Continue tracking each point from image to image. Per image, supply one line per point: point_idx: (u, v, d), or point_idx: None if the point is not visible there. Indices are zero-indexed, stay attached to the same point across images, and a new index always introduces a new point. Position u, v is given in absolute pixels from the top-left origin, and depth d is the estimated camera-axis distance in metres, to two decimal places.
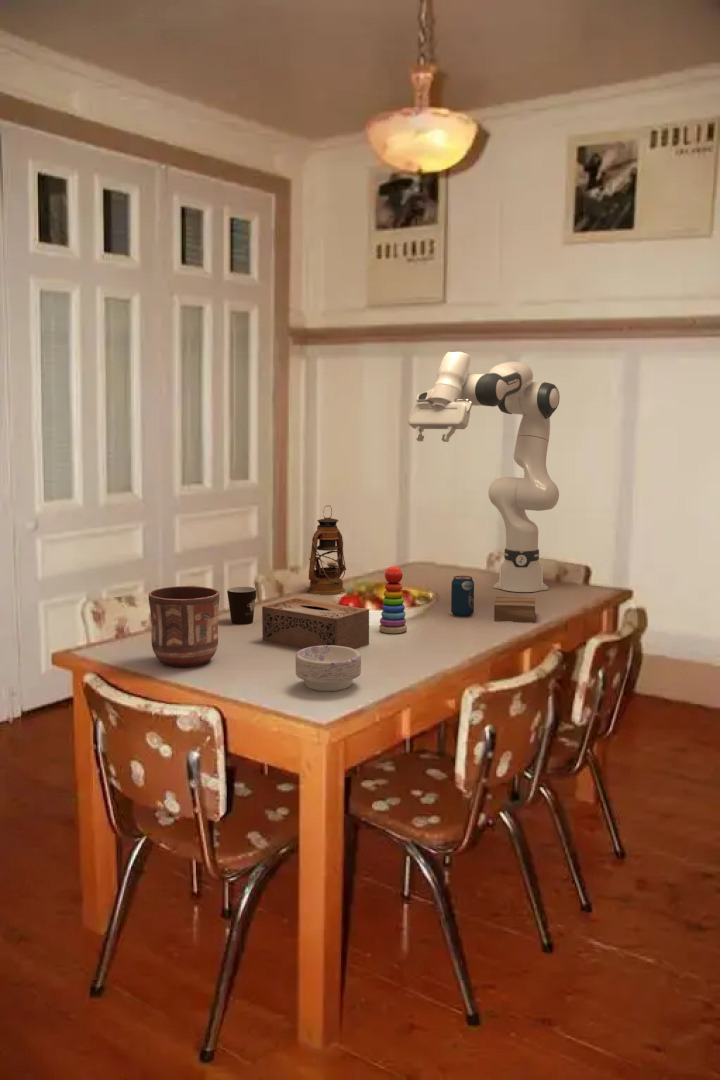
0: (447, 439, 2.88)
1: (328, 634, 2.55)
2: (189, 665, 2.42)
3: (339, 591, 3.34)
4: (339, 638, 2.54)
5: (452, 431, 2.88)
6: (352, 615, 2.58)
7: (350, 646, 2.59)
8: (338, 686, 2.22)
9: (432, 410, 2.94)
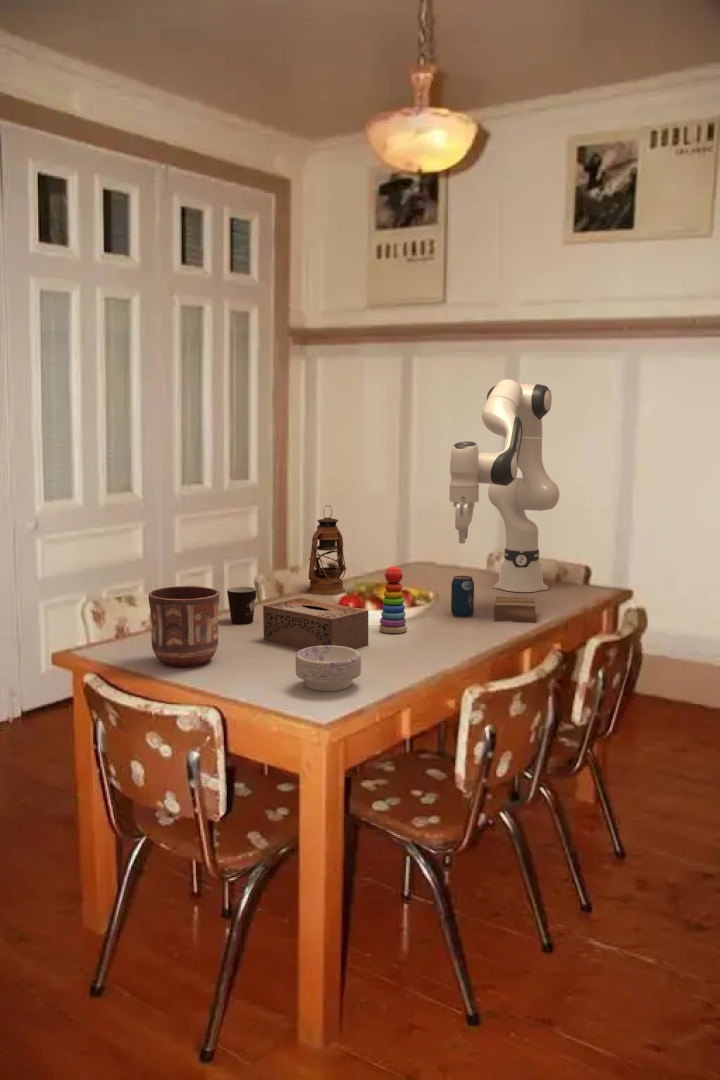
0: (462, 541, 2.92)
1: (324, 634, 2.55)
2: (189, 665, 2.42)
3: (339, 591, 3.34)
4: (335, 638, 2.54)
5: (462, 533, 2.91)
6: (349, 616, 2.57)
7: None
8: (338, 686, 2.22)
9: None
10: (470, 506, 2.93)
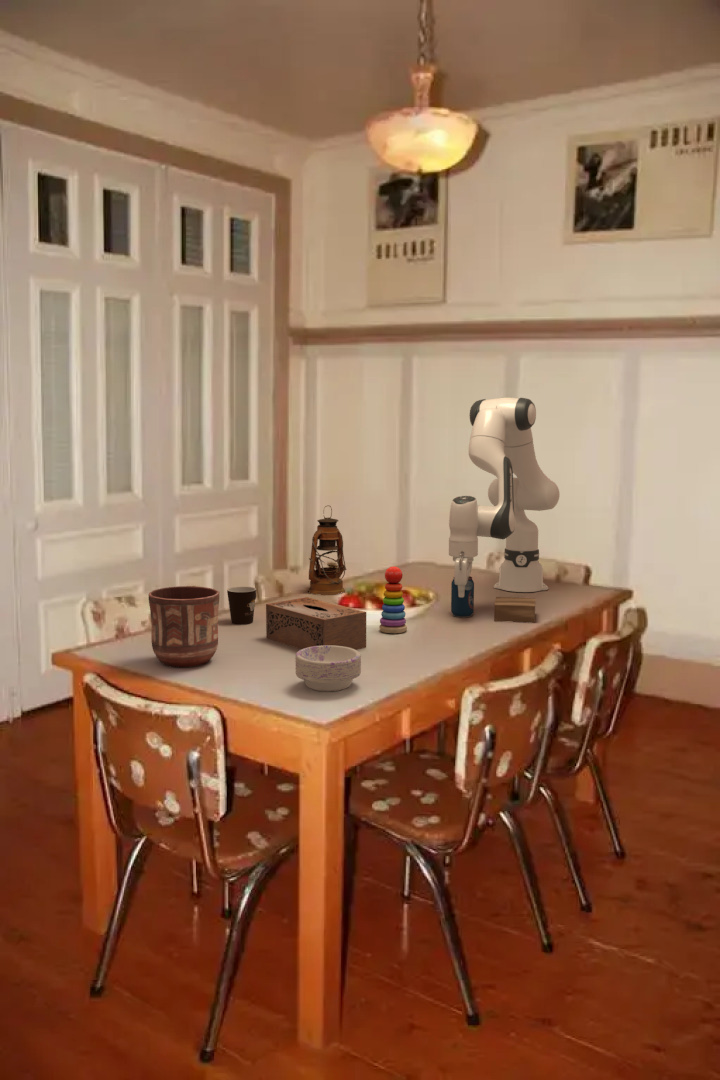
0: (461, 595, 2.95)
1: (317, 634, 2.54)
2: (189, 665, 2.42)
3: (339, 591, 3.34)
4: (327, 639, 2.53)
5: (461, 587, 2.94)
6: (344, 617, 2.56)
7: None
8: (338, 686, 2.22)
9: None
10: (469, 560, 2.96)
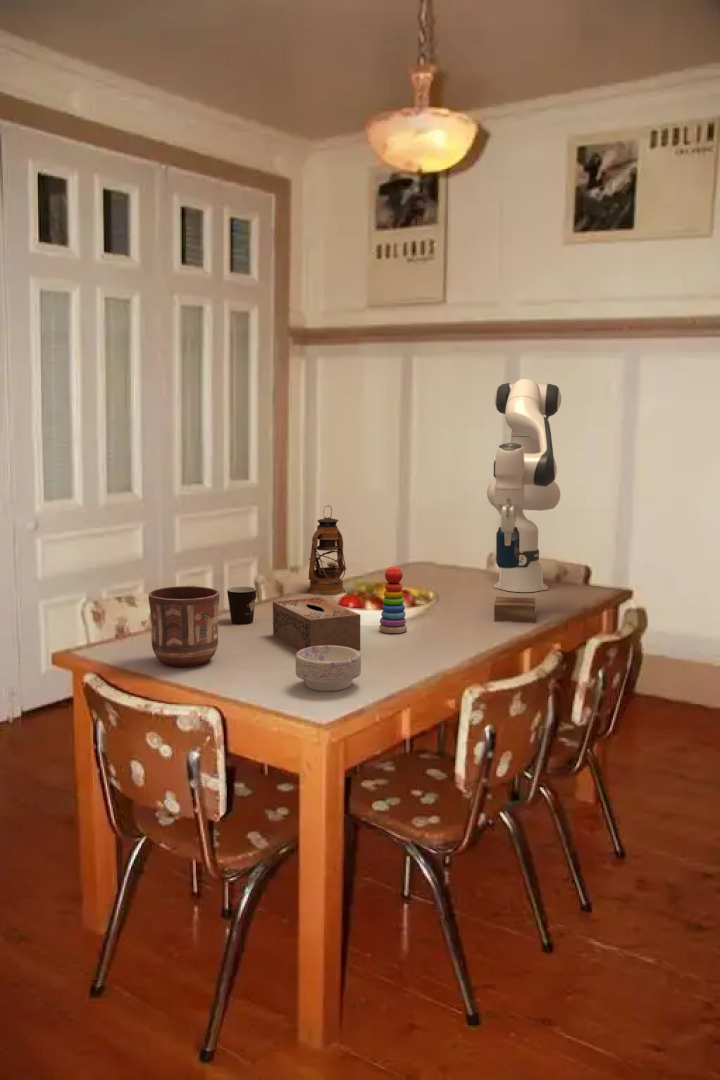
0: (507, 543, 2.91)
1: (306, 634, 2.54)
2: (189, 665, 2.42)
3: (339, 591, 3.34)
4: (314, 640, 2.53)
5: (508, 535, 2.89)
6: (334, 618, 2.54)
7: None
8: (338, 686, 2.22)
9: None
10: (515, 508, 2.91)
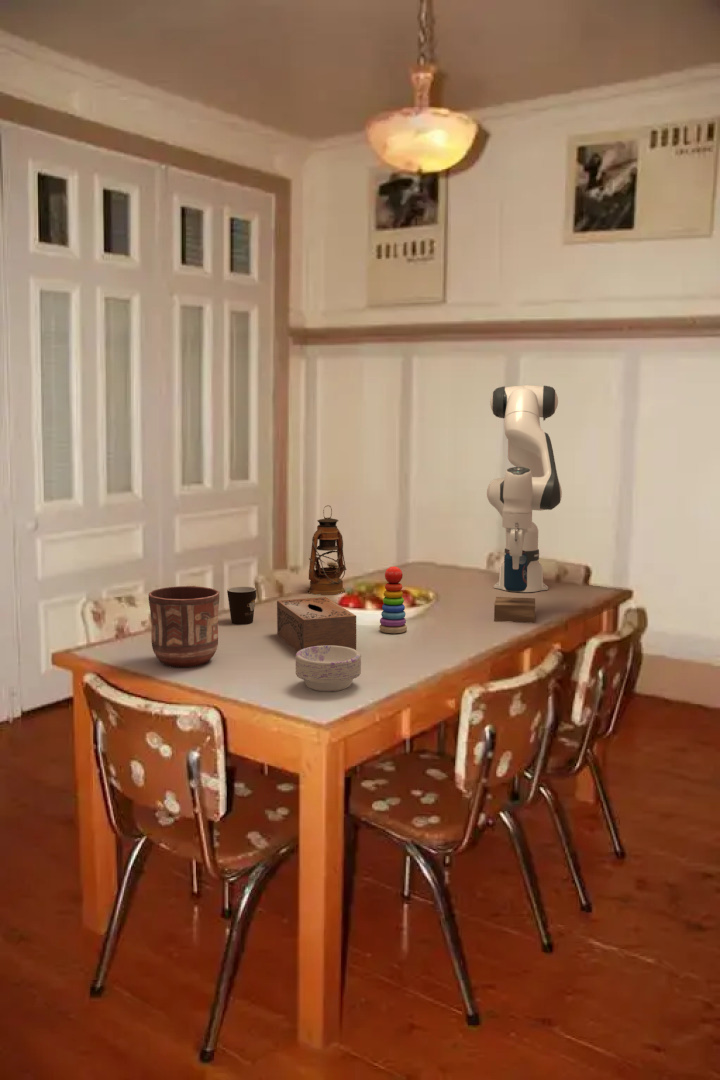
0: (516, 567, 2.91)
1: (300, 634, 2.55)
2: (189, 665, 2.42)
3: (339, 591, 3.34)
4: (307, 639, 2.53)
5: (516, 559, 2.90)
6: (328, 619, 2.54)
7: None
8: (338, 686, 2.22)
9: None
10: (523, 532, 2.91)
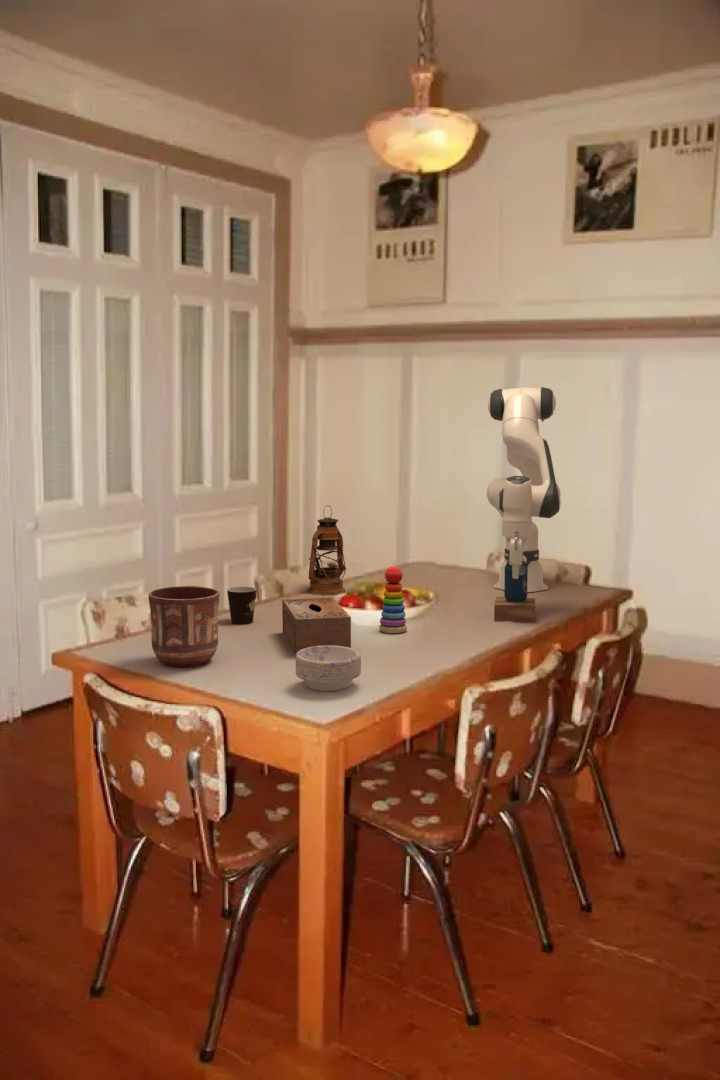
0: (515, 576, 2.91)
1: (294, 634, 2.55)
2: (189, 665, 2.42)
3: (339, 591, 3.34)
4: (300, 639, 2.53)
5: (515, 568, 2.89)
6: (322, 619, 2.53)
7: None
8: (338, 686, 2.22)
9: None
10: (523, 541, 2.92)
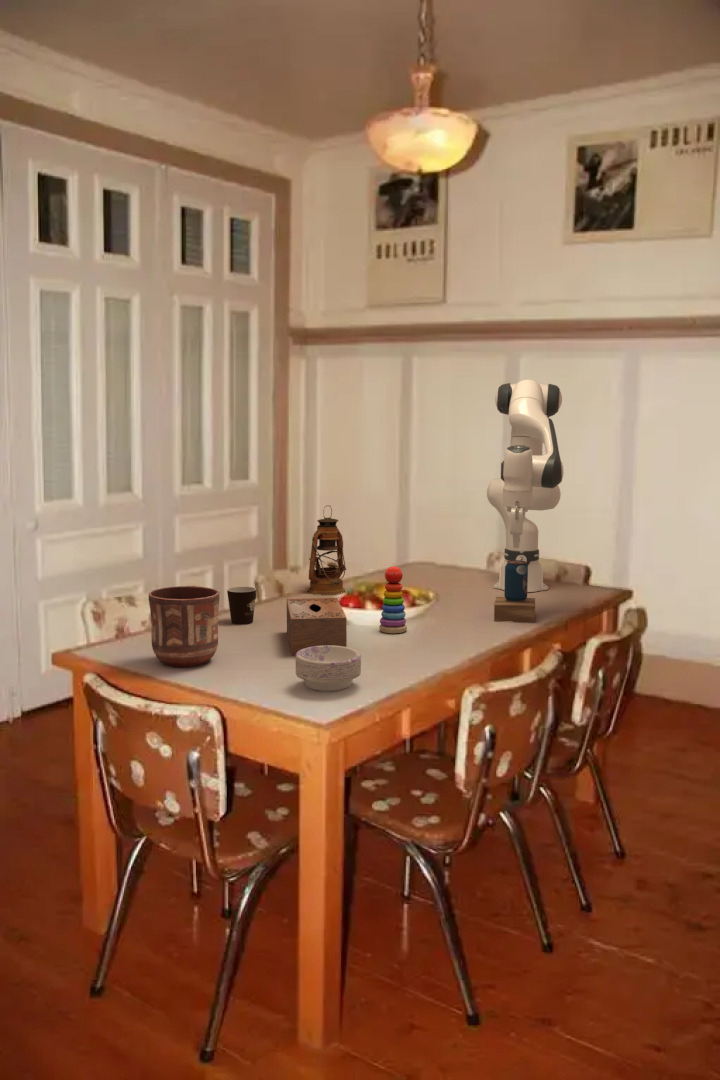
0: (516, 546, 2.89)
1: (290, 633, 2.56)
2: (189, 665, 2.42)
3: (339, 591, 3.34)
4: (295, 639, 2.53)
5: (516, 538, 2.88)
6: (317, 619, 2.53)
7: None
8: (338, 686, 2.22)
9: None
10: (524, 510, 2.91)
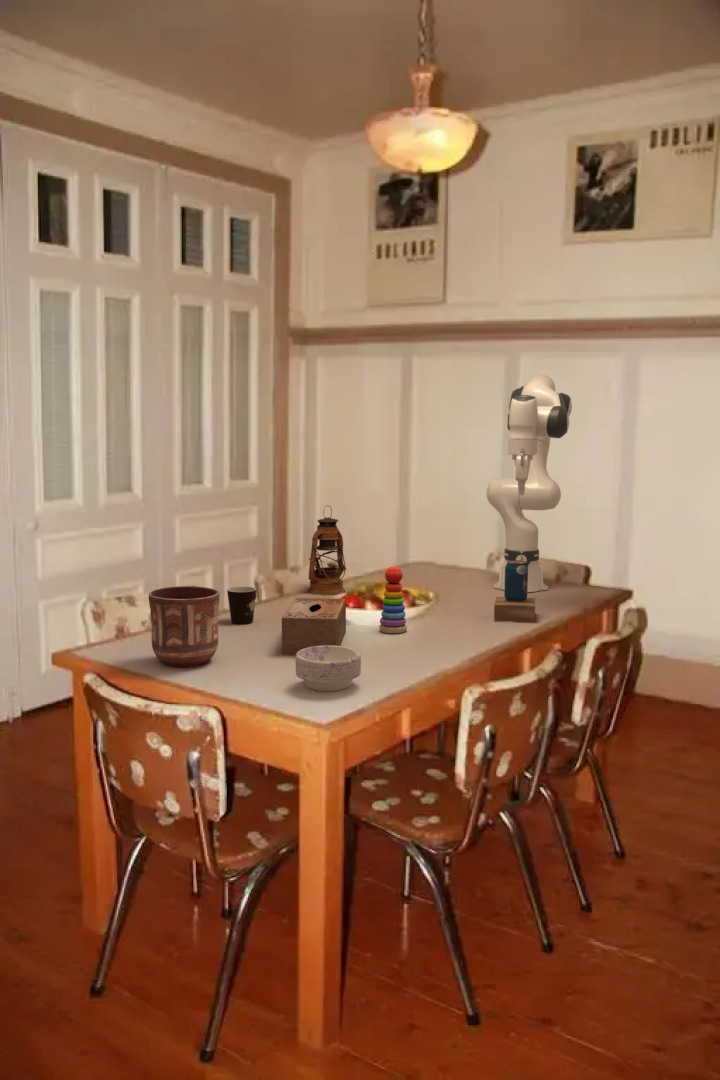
0: (521, 493, 2.97)
1: None
2: (189, 665, 2.42)
3: (339, 591, 3.34)
4: (285, 638, 2.54)
5: (521, 484, 2.95)
6: (307, 619, 2.53)
7: None
8: (338, 686, 2.22)
9: None
10: (529, 458, 2.98)
